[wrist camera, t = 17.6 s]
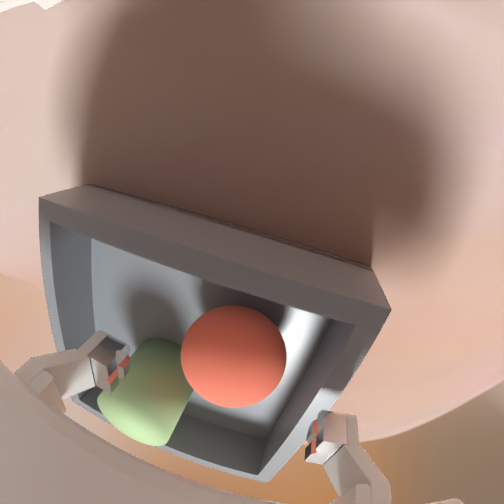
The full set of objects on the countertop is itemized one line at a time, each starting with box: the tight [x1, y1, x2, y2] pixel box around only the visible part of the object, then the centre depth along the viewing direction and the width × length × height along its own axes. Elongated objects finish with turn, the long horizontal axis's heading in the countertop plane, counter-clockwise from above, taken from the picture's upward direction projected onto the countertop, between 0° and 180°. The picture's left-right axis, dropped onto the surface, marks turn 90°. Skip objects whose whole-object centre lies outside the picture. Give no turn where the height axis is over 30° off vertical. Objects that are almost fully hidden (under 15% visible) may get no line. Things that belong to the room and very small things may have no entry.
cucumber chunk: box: [97, 338, 194, 446], centre depth 14 cm, size 4×4×5 cm
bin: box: [39, 184, 391, 482], centre depth 15 cm, size 16×16×4 cm
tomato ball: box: [181, 305, 287, 408], centre depth 12 cm, size 5×5×5 cm
